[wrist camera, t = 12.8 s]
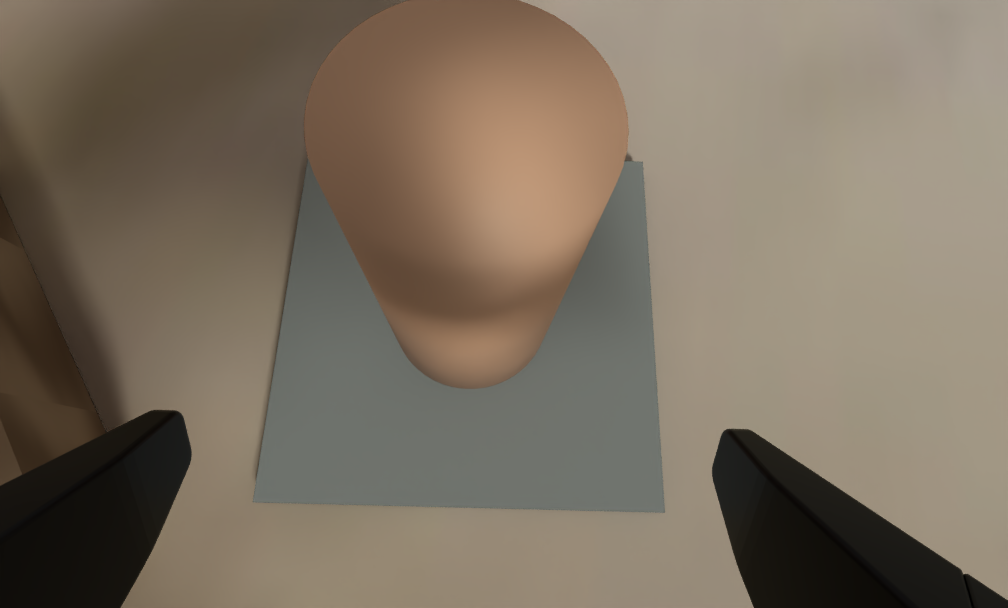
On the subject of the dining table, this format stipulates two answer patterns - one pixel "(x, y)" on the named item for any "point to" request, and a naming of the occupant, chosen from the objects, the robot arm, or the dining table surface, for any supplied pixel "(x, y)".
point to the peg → (467, 172)
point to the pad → (466, 412)
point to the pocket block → (35, 371)
